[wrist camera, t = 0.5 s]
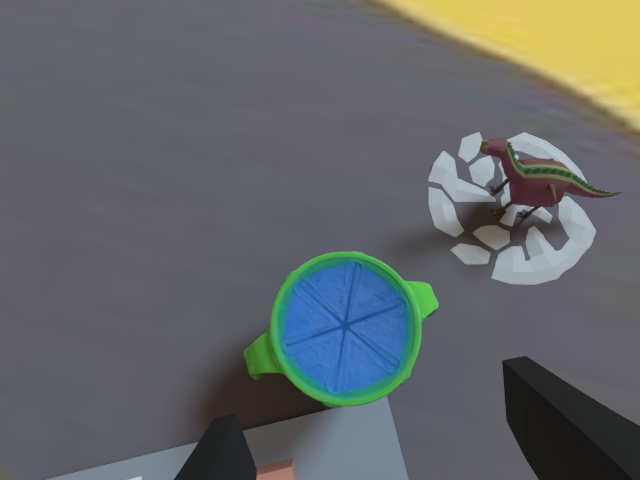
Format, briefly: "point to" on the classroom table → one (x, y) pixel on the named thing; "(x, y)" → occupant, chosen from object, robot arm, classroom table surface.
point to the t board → (292, 449)
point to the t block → (277, 471)
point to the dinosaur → (516, 205)
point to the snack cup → (343, 329)
